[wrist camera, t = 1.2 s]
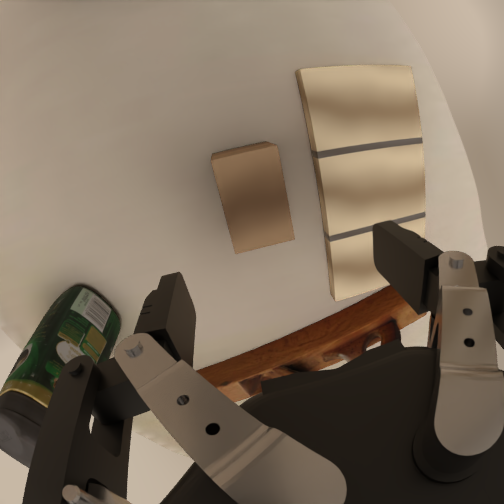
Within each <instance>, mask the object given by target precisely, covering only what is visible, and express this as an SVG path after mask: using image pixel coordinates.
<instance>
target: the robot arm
mask: <svg viewBox="0 0 504 504" xmlns="http://www.w3.org/2000/svg"><path fill="white" fill-rule="evenodd" d="M372 233H373V259H374V264H375V267H376V269H377V271H378V272H379V273H380V274H381V275H382V276H383V277H384V278H385V279H386V280H387V281H388V283H389V284H390V285H391V286H392V287H393V288H394V289H395V290H396V291H397V292H398V293H399V294H400V295H401V297H402V298H403V299H404V300H405V301H406V302H407V303H408V304H409V305H410V306H411V308H412V309H413V310H414V311H415V312H416V313H417V314H418V315H420V314H423V313H425V312H428V311H430V312H431V316H430V322H429V333H428V343H427V347H404V346H403V345H402V343H401V342H400V340H399V339H397V340H394V341H392V342H389V343H386V344H384V345H381V346H378V347H376V348H373V349H370V350H368V351H366V352H364V353H363V354H361V355H359V356H358V357H356V358H355V359H353V360H351V361H349V362H348V363H346V364H344V365H343V366H341V367H339V368H336V369H331V370H321V371H309V372H297V373H293V374H289V375H285V376H281V377H277V378H273V379H269V380H264V381H260V382H261V387H262V392H261V393H259V394H257V395H255V396H253V397H251V398H249V399H248V400H246V401H245V402H244V403H242V404H241V405H240V406H238V405H237V404H236V403H234V402H233V401H232V400H230V399H229V398H228V397H227V396H225V395H224V394H223V393H222V392H220V391H219V390H218V389H217V388H215V387H214V386H213V385H212V384H211V383H209V382H208V381H207V380H206V379H205V378H203V377H202V376H201V375H200V374H199V373H198V372H196V371H195V370H194V369H193V354H194V339H195V325H196V313H195V308H194V305H193V302H192V299H191V297H190V294H189V292H188V289H187V287H186V284H185V281H184V279H183V276H182V274H181V273H180V272H176V273H172V274H168V275H164V276H162V277H161V279H160V282H159V285H158V288H157V290H153V291H152V292H151V293H150V294H149V295H148V296H147V297H146V299H145V301H144V304H143V308H142V310H141V313H140V316H139V319H138V321H137V324H136V327H135V331H134V334H133V335H131V336H128V337H127V338H125V339H124V340H122V341H121V342H120V343H119V344H118V346H117V347H116V349H115V352H114V358H111V359H109V360H106V361H104V362H101V363H99V364H95V362H94V361H93V359H92V358H91V357H90V356H88V355H80V356H77V357H75V358H73V359H71V360H70V361H69V362H68V363H66V365H65V366H64V367H63V369H62V371H61V373H60V375H59V378H58V380H57V383H56V386H55V388H54V391H53V394H52V396H51V399H50V402H49V405H48V407H47V410H46V413H45V416H44V419H43V422H42V426H41V429H40V432H39V435H38V439H37V442H36V446H35V449H34V453H33V457H32V460H31V464H30V469H29V473H28V477H27V482H26V487H25V492H24V497H23V503H22V504H131V503H130V502H129V501H127V498H126V497H127V478H128V462H129V451H130V440H131V430H132V421H133V417H134V416H136V415H139V414H142V413H144V412H147V411H150V410H151V411H152V412H153V414H154V415H155V416H156V417H157V419H158V420H159V421H160V422H161V424H162V425H163V426H164V427H165V429H166V430H167V431H168V432H169V433H170V435H171V436H172V437H173V438H174V439H175V440H176V442H177V443H178V444H179V445H180V446H181V447H182V448H183V449H184V451H185V452H186V453H187V454H188V455H189V456H190V457H191V458H192V459H193V460H194V461H195V462H194V463H193V464H192V466H191V467H190V468H189V469H188V470H187V472H186V473H185V474H184V475H183V477H182V478H181V479H180V480H179V482H178V483H177V484H176V485H175V486H174V488H173V489H172V490H171V491H170V492H169V494H168V495H167V496H166V497H165V498H164V499H163V501H162V502H161V503H160V504H504V371H502V370H499V369H498V364H497V351H496V342H495V340H496V341H497V342H498V343H499V344H500V345H501V347H502V348H503V349H504V247H503V246H494V247H491V248H489V249H488V253H487V259H486V260H484V261H476V262H474V261H473V259H472V258H471V257H470V256H469V255H467V254H465V253H463V252H459V251H447V252H443V251H441V250H440V249H438V248H437V247H436V246H434V245H433V244H431V243H430V242H427V240H426V239H424V238H423V237H422V238H421V236H420V235H418V234H417V233H415V232H414V231H411V230H408V229H405V228H402V227H401V226H399V225H398V224H396V223H395V222H393V221H392V220H387V221H383V222H379V223H375V224H374V225H373V228H372ZM91 414H92V415H93V416H94V422H93V426H92V431H91V433H90V430H89V422H90V418H91Z"/></svg>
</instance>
